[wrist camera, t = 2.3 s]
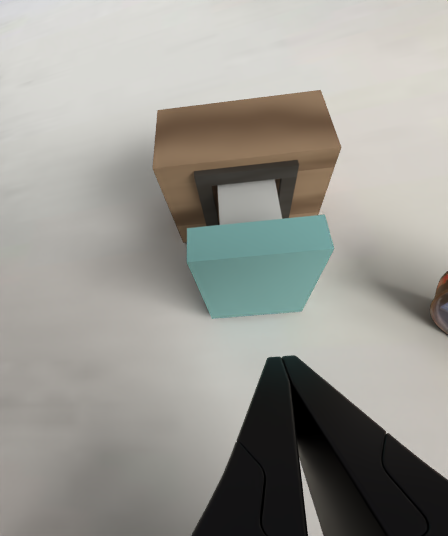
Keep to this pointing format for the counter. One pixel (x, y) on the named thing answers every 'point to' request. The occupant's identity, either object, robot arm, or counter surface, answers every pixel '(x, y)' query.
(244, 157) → the block
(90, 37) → the counter surface
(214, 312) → the teal flanged block
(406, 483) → the robot arm
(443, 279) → the tin
